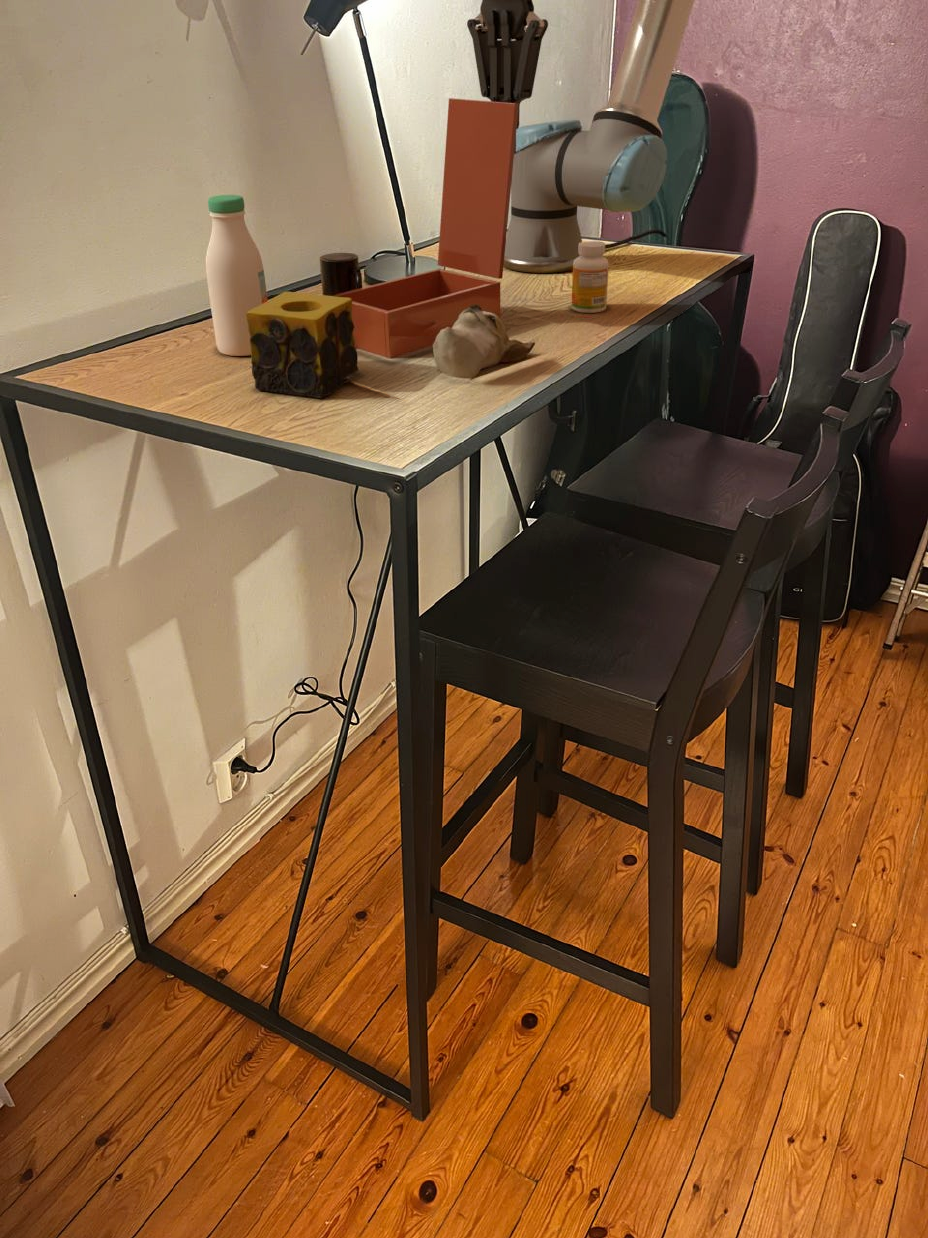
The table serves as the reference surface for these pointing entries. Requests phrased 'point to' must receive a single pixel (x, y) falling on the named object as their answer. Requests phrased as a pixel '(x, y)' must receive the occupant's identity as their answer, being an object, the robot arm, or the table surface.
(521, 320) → the table surface
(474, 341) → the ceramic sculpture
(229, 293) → the milk bottle
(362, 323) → the reddish-brown box
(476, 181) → the lid
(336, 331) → the candle
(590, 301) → the supplement bottle
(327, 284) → the silver-capped dark cylinder
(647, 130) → the robot arm
